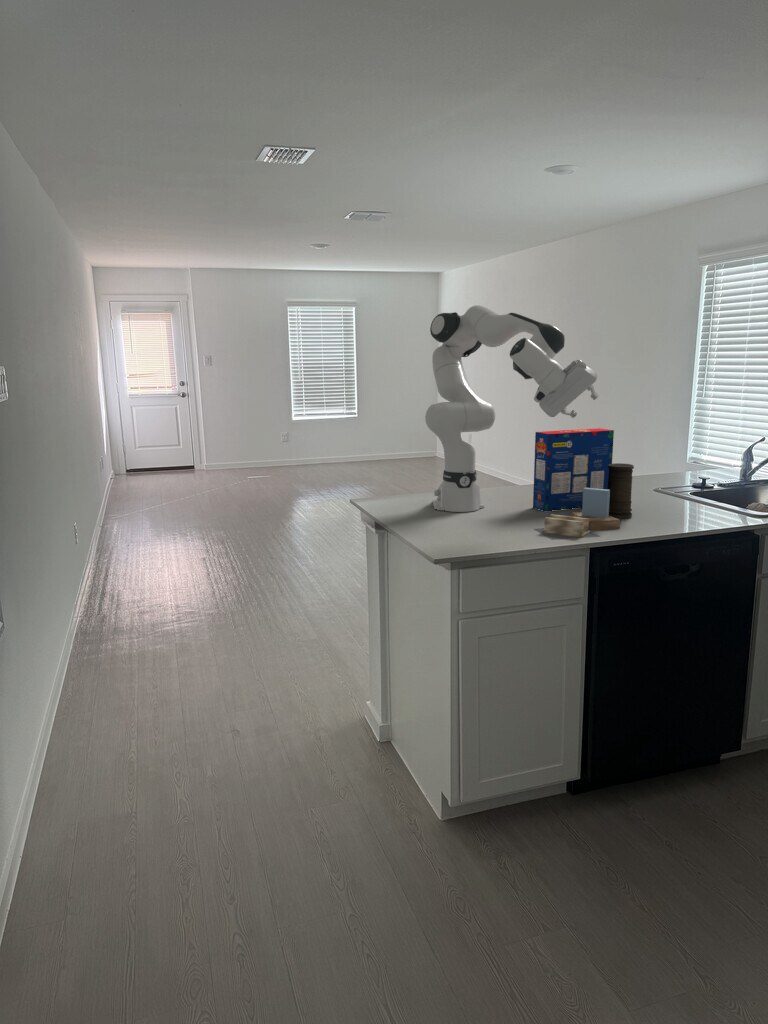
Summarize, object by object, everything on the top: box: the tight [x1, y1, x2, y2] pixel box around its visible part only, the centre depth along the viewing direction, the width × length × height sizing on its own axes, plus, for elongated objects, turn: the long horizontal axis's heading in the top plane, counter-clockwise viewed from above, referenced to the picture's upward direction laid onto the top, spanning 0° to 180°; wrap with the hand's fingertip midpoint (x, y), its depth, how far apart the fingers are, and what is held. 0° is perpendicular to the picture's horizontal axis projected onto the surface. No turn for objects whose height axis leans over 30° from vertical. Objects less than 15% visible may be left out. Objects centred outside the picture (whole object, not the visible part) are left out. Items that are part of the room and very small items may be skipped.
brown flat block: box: [570, 511, 621, 531], centre depth 232 cm, size 14×10×3 cm
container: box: [608, 462, 635, 520], centre depth 242 cm, size 9×9×18 cm
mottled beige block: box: [542, 513, 591, 538], centre depth 221 cm, size 13×7×5 cm, turn 57°
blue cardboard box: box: [532, 427, 615, 512], centre depth 258 cm, size 28×8×28 cm, turn 111°
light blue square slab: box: [581, 488, 610, 518], centre depth 230 cm, size 8×2×9 cm, turn 57°
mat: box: [533, 527, 600, 541], centre depth 221 cm, size 14×16×1 cm
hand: (585, 407), depth 225 cm, fingers open, 8 cm apart
